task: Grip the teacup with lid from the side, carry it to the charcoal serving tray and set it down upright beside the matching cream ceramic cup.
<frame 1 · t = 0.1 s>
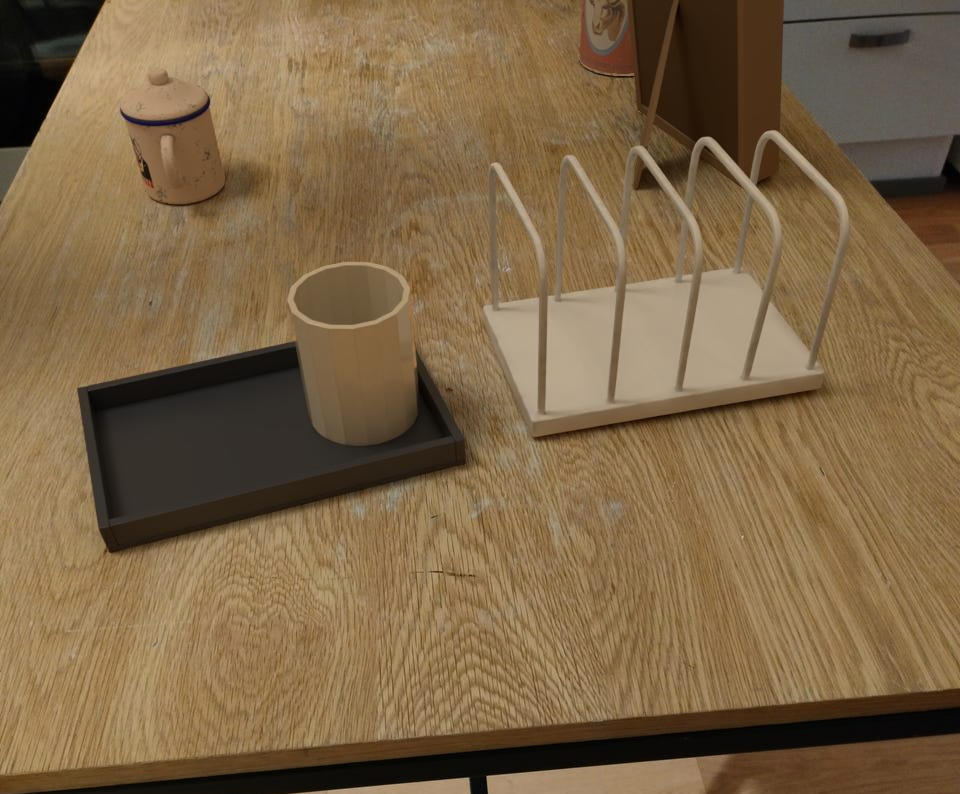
teacup with lid: (186, 194, 104), on the table
photo frame: (663, 155, 108), on the table
tray: (270, 436, 78), on the table
cream cup: (365, 414, 80), resting on tray
canned food: (621, 61, 125), on the table
file sorter: (643, 358, 84), on the table
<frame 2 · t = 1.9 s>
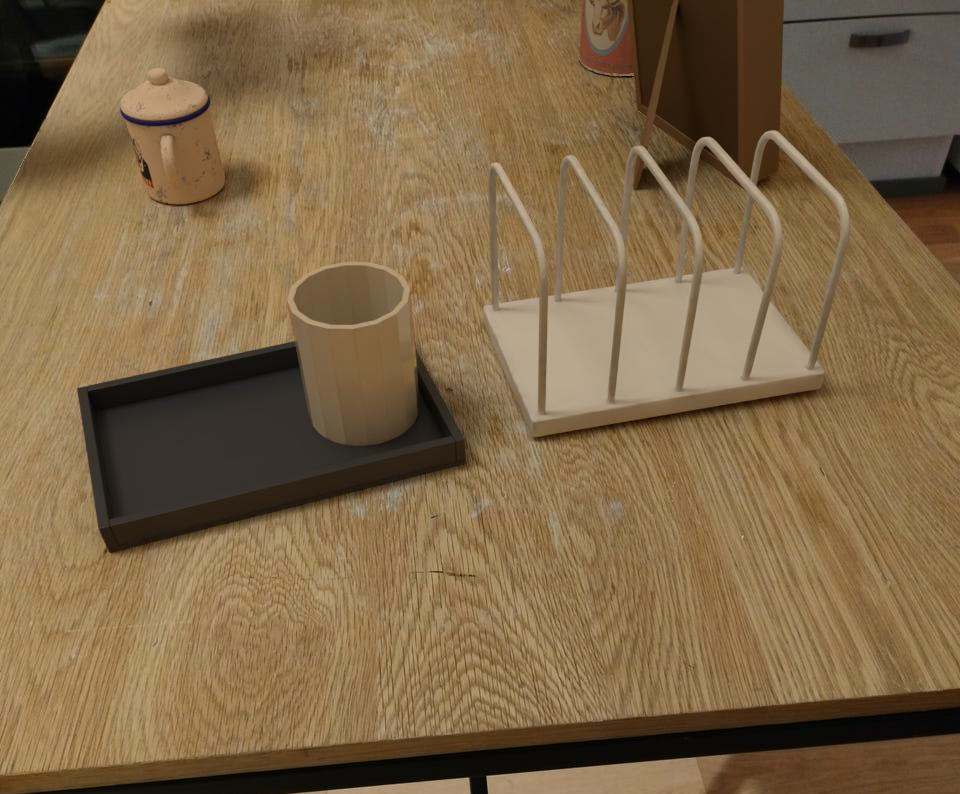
nothing on the table moved.
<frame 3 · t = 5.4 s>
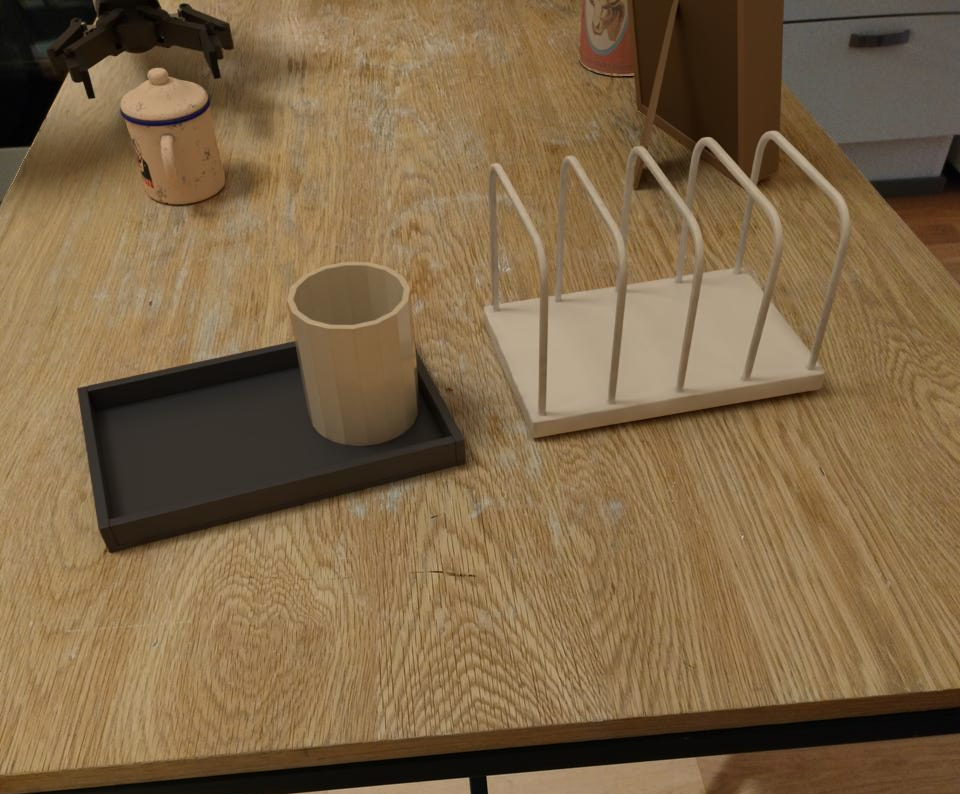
hand: (152, 75, 104), 8 cm above the table, tool horizontal, fingers open, 13 cm apart
nothing on the table moved.
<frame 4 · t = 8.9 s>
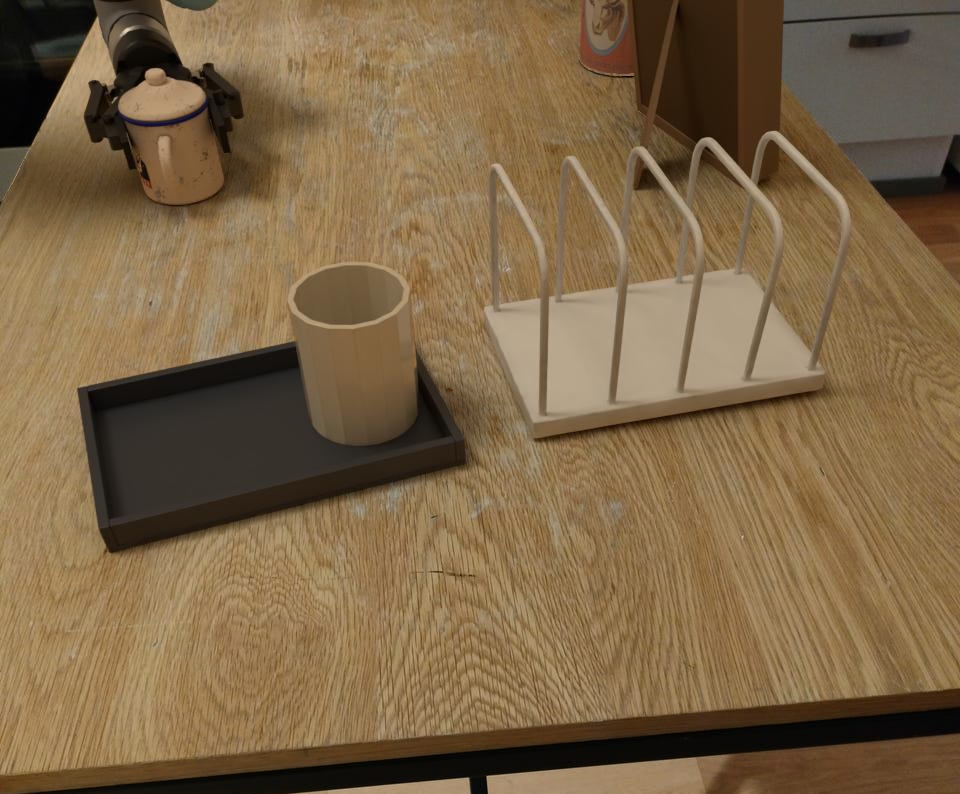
hand: (177, 147, 96), 7 cm above the table, tool horizontal, fingers closed on teacup with lid, 9 cm apart
teacup with lid: (185, 195, 104), on the table, touching gripper
everything else where it was.
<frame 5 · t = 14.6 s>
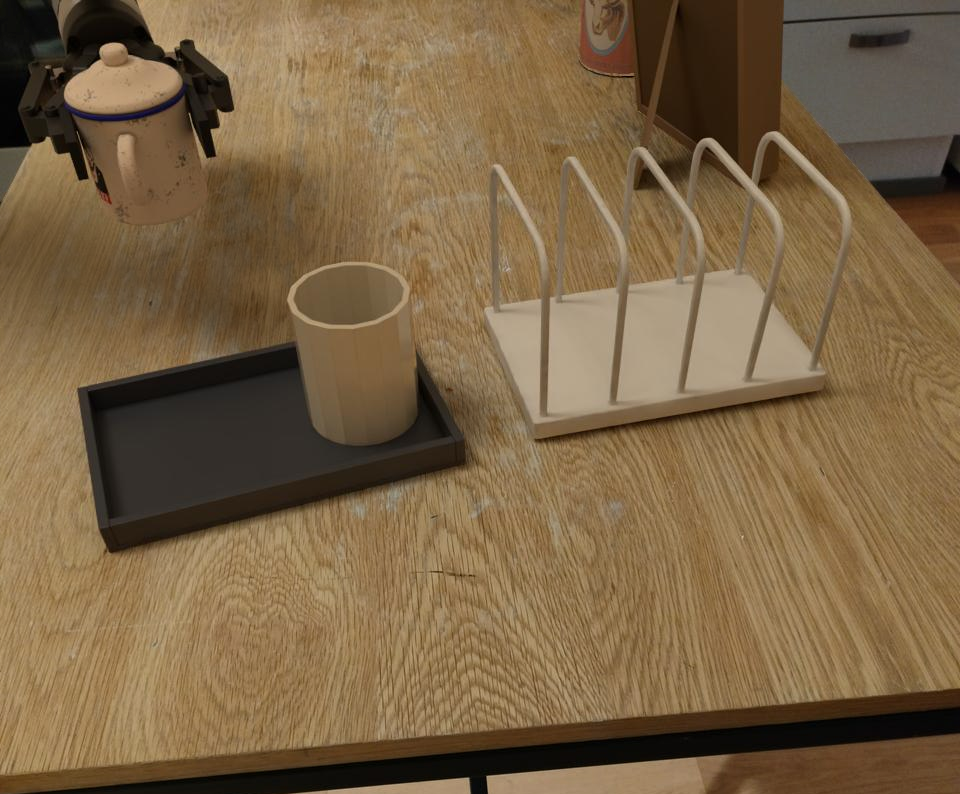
hand: (143, 150, 71), 18 cm above the table, tool horizontal, fingers closed on teacup with lid, 9 cm apart
teacup with lid: (156, 212, 79), point 11 cm above the table, touching gripper
everything else where it was.
when the fingers open (7 cm above the table, at t = 20.4 s): teacup with lid stays where it is, resting on tray.
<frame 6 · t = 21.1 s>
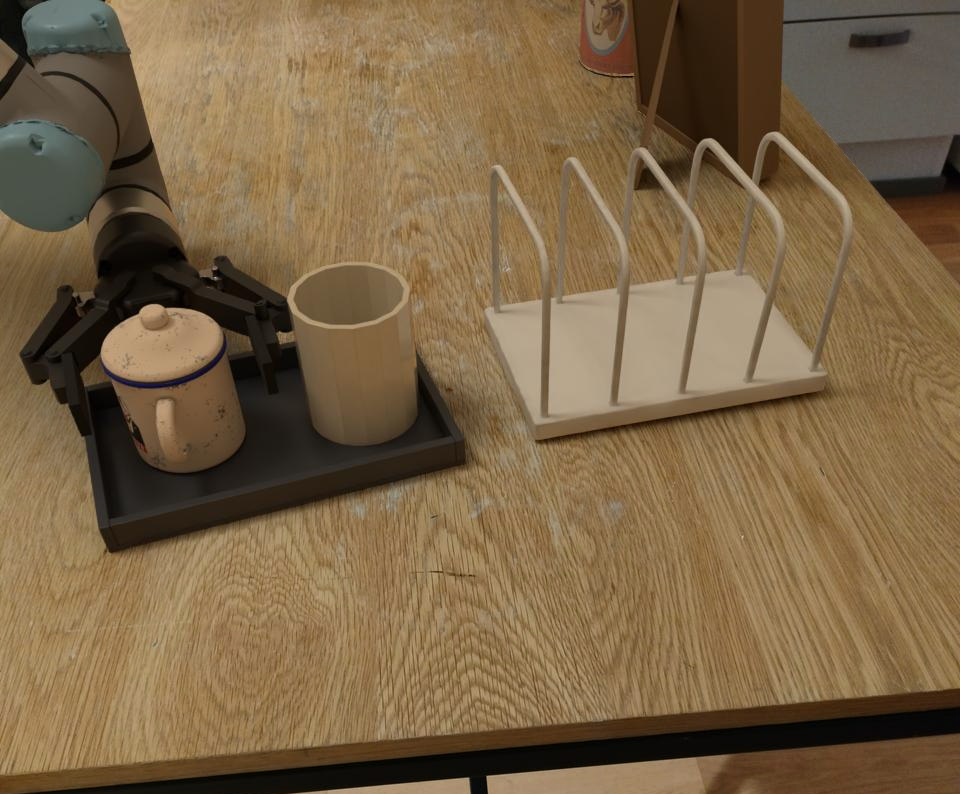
hand: (177, 399, 69), 8 cm above the table, tool horizontal, fingers open, 13 cm apart
teacup with lid: (192, 453, 77), resting on tray
everything else where it was.
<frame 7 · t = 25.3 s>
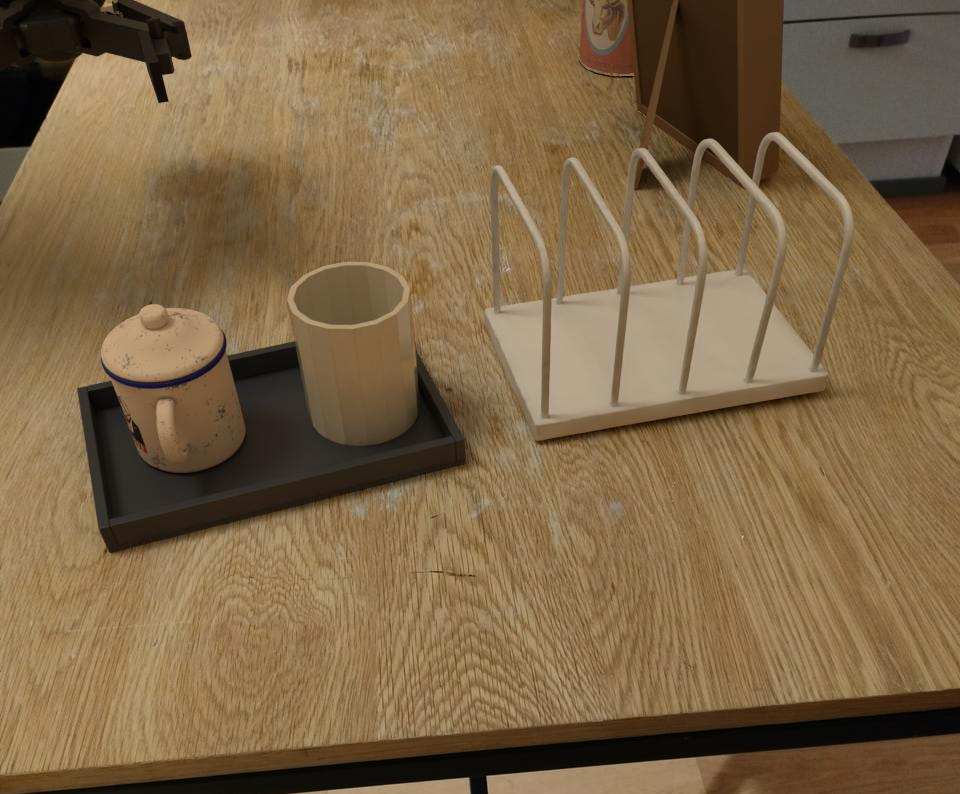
hand: (63, 97, 69), 21 cm above the table, tool horizontal, fingers open, 13 cm apart
nothing on the table moved.
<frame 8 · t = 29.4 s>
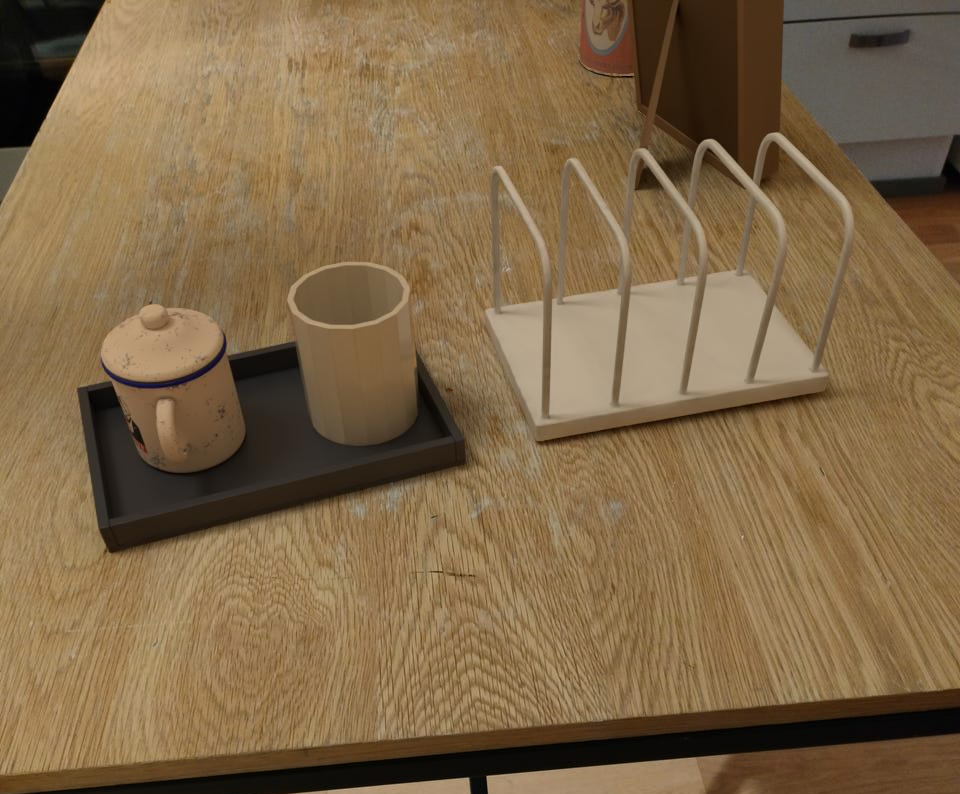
nothing on the table moved.
at the end: teacup with lid inside the target area in the tray (0.3 cm from its centre), point 0.2 cm above the tray's base; teacup with lid tilted 0°; teacup with lid 14.3 cm from the cream cup (horizontally) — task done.
